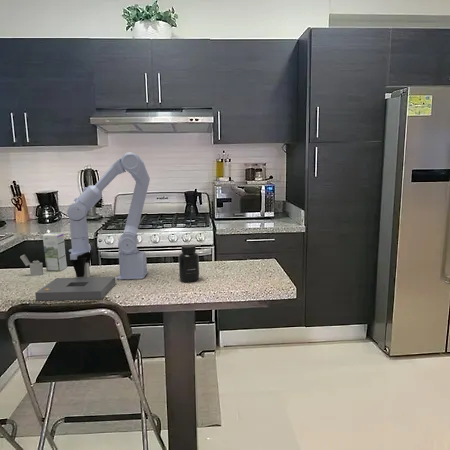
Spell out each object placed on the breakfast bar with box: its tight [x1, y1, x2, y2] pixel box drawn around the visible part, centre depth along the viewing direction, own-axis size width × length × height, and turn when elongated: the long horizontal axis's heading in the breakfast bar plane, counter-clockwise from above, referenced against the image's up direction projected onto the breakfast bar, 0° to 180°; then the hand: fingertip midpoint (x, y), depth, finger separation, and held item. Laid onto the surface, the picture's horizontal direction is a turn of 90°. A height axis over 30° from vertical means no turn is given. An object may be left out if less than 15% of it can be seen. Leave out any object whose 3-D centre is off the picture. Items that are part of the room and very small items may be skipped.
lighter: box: [19, 254, 44, 277], centre depth 147 cm, size 7×2×8 cm, turn 101°
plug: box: [75, 263, 91, 278], centre depth 139 cm, size 4×3×7 cm, turn 90°
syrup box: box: [42, 231, 68, 272], centre depth 153 cm, size 6×6×14 cm
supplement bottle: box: [178, 244, 200, 283], centre depth 135 cm, size 7×7×12 cm
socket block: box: [35, 276, 117, 302], centre depth 126 cm, size 20×15×3 cm
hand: (83, 274), depth 139 cm, fingers open, 4 cm apart
